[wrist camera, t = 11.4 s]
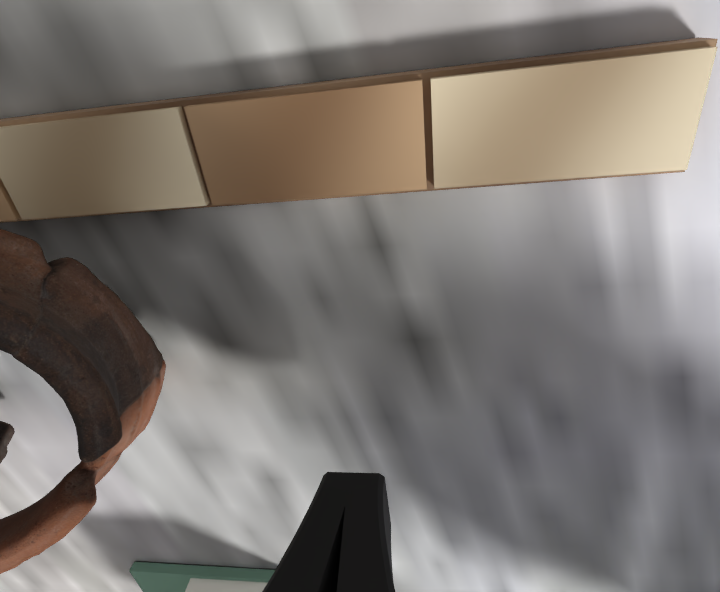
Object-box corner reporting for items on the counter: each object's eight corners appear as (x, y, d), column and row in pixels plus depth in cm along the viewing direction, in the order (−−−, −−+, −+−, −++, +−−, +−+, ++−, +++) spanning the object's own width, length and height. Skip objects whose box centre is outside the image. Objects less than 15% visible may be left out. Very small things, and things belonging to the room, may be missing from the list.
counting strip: (699, 37, 8) (724, 40, 7) (669, 163, 9) (689, 175, 8) (-170, 138, 11) (-208, 146, 10) (-111, 223, 12) (-143, 235, 11)
